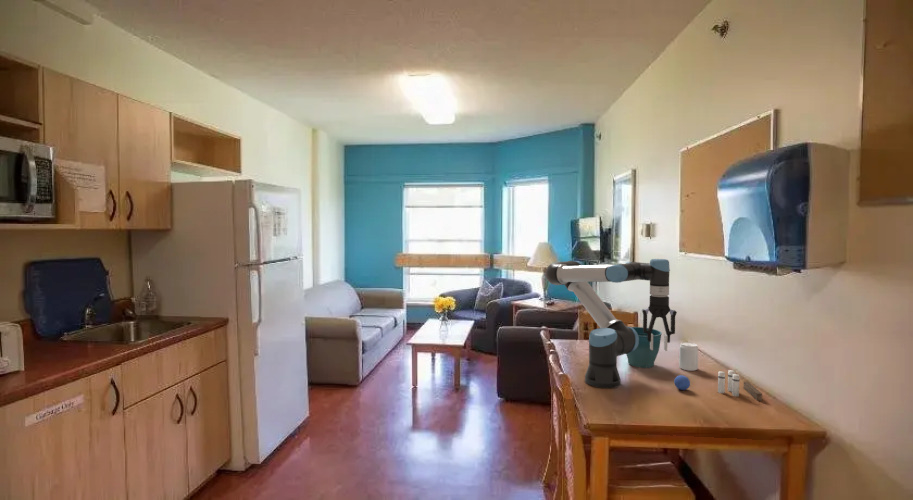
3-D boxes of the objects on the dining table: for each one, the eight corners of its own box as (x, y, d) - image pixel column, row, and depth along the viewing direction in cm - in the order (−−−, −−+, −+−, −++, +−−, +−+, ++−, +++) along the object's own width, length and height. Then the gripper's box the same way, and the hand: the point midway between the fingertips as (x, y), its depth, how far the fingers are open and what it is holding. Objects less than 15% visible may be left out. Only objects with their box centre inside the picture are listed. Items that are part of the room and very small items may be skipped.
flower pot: (669, 367, 217) (670, 333, 217) (640, 372, 211) (641, 337, 210) (641, 357, 234) (642, 325, 233) (614, 361, 228) (614, 329, 227)
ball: (676, 391, 187) (676, 377, 186) (672, 386, 193) (672, 372, 192) (691, 392, 185) (692, 378, 185) (687, 387, 191) (688, 373, 191)
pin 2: (733, 396, 181) (733, 375, 181) (731, 394, 184) (731, 373, 183) (740, 396, 180) (740, 376, 180) (737, 394, 183) (738, 374, 182)
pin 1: (728, 391, 186) (729, 371, 185) (726, 389, 188) (727, 369, 188) (735, 392, 185) (736, 372, 185) (733, 390, 188) (733, 370, 187)
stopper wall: (757, 400, 176) (757, 393, 176) (743, 388, 190) (743, 381, 190) (761, 401, 176) (762, 393, 176) (747, 388, 189) (747, 381, 189)
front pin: (718, 393, 185) (719, 373, 184) (716, 390, 187) (717, 371, 186) (725, 393, 184) (726, 373, 183) (723, 391, 186) (723, 371, 186)
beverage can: (700, 371, 211) (700, 346, 210) (681, 370, 213) (682, 346, 212) (694, 366, 219) (695, 342, 218) (677, 365, 221) (677, 341, 220)
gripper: (638, 296, 187) (637, 350, 189) (684, 297, 183) (683, 353, 184) (635, 293, 195) (634, 346, 196) (680, 294, 190) (679, 348, 192)
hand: (658, 349), depth 190 cm, fingers open, 5 cm apart
